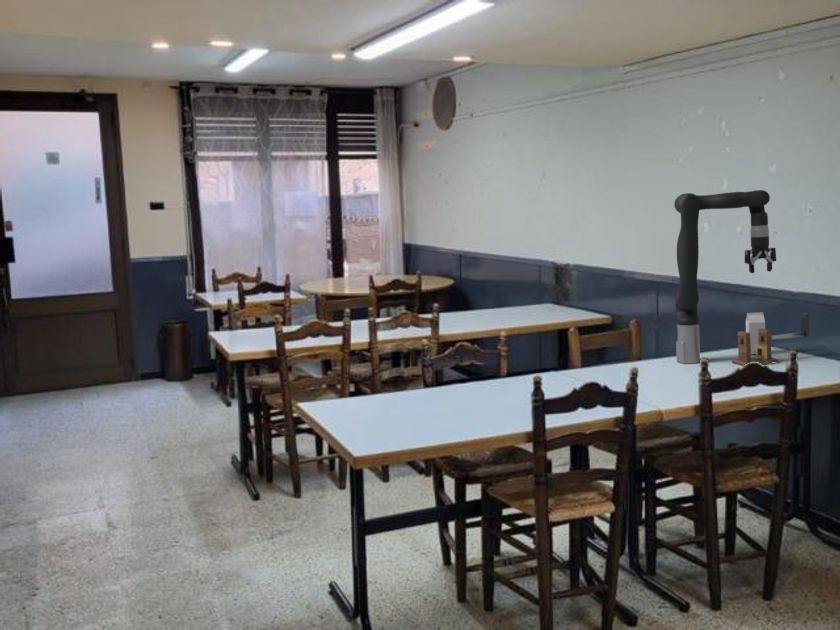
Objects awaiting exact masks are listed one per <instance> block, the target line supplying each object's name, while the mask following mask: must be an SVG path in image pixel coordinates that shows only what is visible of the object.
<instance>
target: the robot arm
mask: <svg viewBox="0 0 840 630" xmlns="http://www.w3.org/2000/svg"><path fill="white" fill-rule="evenodd" d="M770 199H771V196H770V194H769V192H767V191H766V190H763V189H760V190H756V189H755V190H751V191H733V192H732V191H731V192H724V193H715V194H708V195H707V194H704V195H697V194H695V193H682V194H680V195H678V196H677V197H676V198H675V200H674V203H673V206H674V208H675V211H676V212H678V213H679V214H680V229H679V233H678V236H677V237H678V238H677V242H676V262H677V269H678V270H677V271H678V275H679V285H678V286H679V288H678V291H677V292H676V295H675V298H674V299H675V302H674V304H675V317H676V327H677V340H676V341H675V349H676V353H675V354H676V362H677V363H680V364H683V365H684V364H698V363H700V362H701V350H700V349H701V348H700V347H701V346H700V344H701V343H700V323H699V314H698V303H700V302H699V299H700V297H699V290H698V288H699V287H698V270H699V269H698V268H699V252H700V251H699V248H700V247H699V216H700V211H701V210H702V211H704V210H725V209H727V210H728V209H729V210H731V209H741V208H746V207H748V210H749V214H750V247H751V249H745V250H744V264H748V271H749V273H750V274H754V273H755V263H756V261H757V260H761V259H764V260H765V261H766V262H767V263H766V272H769V273H770V272H772V271H773V263H774V262H776V261H777V252H776V247H769V246H770V229H769V216H768V213H767V212H766V211H765V206H766V205H768V203H769V202H770Z"/></svg>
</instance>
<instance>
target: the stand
mask: <svg viewBox="0 0 840 630" xmlns="http://www.w3.org/2000/svg"><path fill="white" fill-rule="evenodd" d="M771 330H772V329H771ZM771 330H770V329H766V328H765V329H758V343H759V344H761V345H765V346H767V360H763V359H759V358H756V356H752V355H751V345H750V333H748V332H746V331H742V330H741V331H737V346H738V347H737V349H738V350H737V352H738V353H737V354H738V355H737V356H738V358H737V359H736V358H734V359H731V364H734V365H738V366H741V367H744V366H743V365H745V364H747V363H750V362H759V363H761V364H763V365H769V364H768V363H771V364H773V363H772V362H779V360H780V359H779V358H775V357H772V340H771V336H772V332H771ZM761 355H762V349H761ZM779 363H780V362H779Z"/></svg>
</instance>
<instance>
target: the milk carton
mask: <svg viewBox="0 0 840 630" xmlns="http://www.w3.org/2000/svg"><path fill="white" fill-rule="evenodd" d="M765 320H766V319H765V316H764V312H763V311H760V312H759V311H758V312H747V313H746V318H745V332H748V333H750V345H751V354H756V352H755V344H759V343H758V329H766V321H765Z"/></svg>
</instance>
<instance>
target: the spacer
mask: <svg viewBox="0 0 840 630" xmlns="http://www.w3.org/2000/svg"><path fill="white" fill-rule="evenodd" d="M761 349H762V355H761ZM755 352H756V355H755V357H756V358H759V359H763V360H767V346H765V345H761V344H755Z"/></svg>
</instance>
